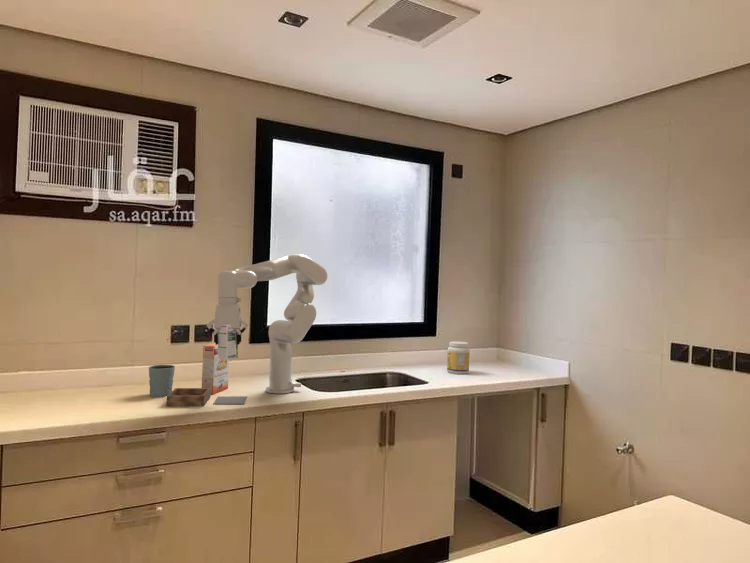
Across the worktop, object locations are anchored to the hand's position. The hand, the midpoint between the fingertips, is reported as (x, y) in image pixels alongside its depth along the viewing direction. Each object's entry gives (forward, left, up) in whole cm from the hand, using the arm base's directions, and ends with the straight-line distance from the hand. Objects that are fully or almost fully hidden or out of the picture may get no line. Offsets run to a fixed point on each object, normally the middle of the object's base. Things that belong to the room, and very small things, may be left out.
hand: (227, 343), depth 211 cm
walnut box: (+14, +2, -23) cm, 27 cm away
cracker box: (+7, -18, -24) cm, 30 cm away
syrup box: (0, 0, -6) cm, 6 cm away
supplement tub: (-117, -63, -24) cm, 135 cm away
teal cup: (+28, -11, -24) cm, 38 cm away
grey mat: (-2, 0, -23) cm, 23 cm away
